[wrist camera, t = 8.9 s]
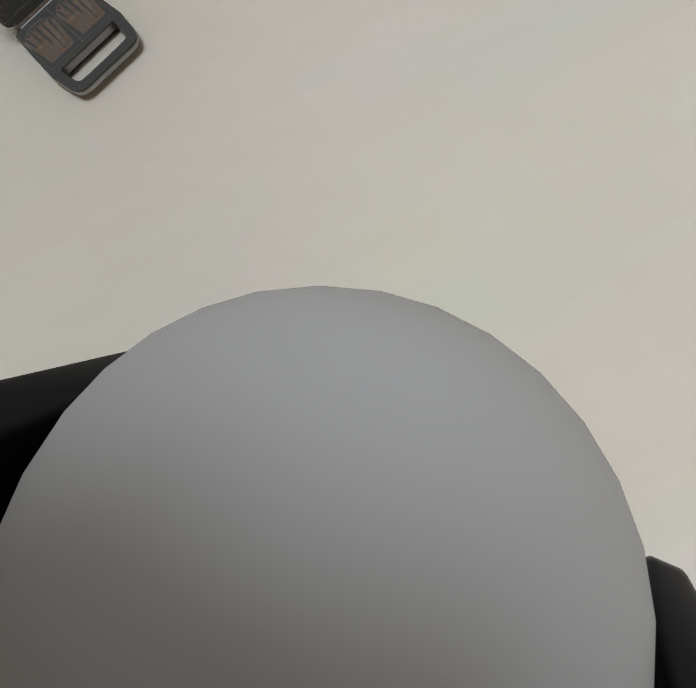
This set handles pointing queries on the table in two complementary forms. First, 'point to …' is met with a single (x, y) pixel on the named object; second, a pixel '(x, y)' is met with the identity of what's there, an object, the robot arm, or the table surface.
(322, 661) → the lightbulb
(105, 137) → the table surface
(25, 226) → the table surface
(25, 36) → the strap clip
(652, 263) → the table surface
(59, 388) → the robot arm
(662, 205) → the table surface
